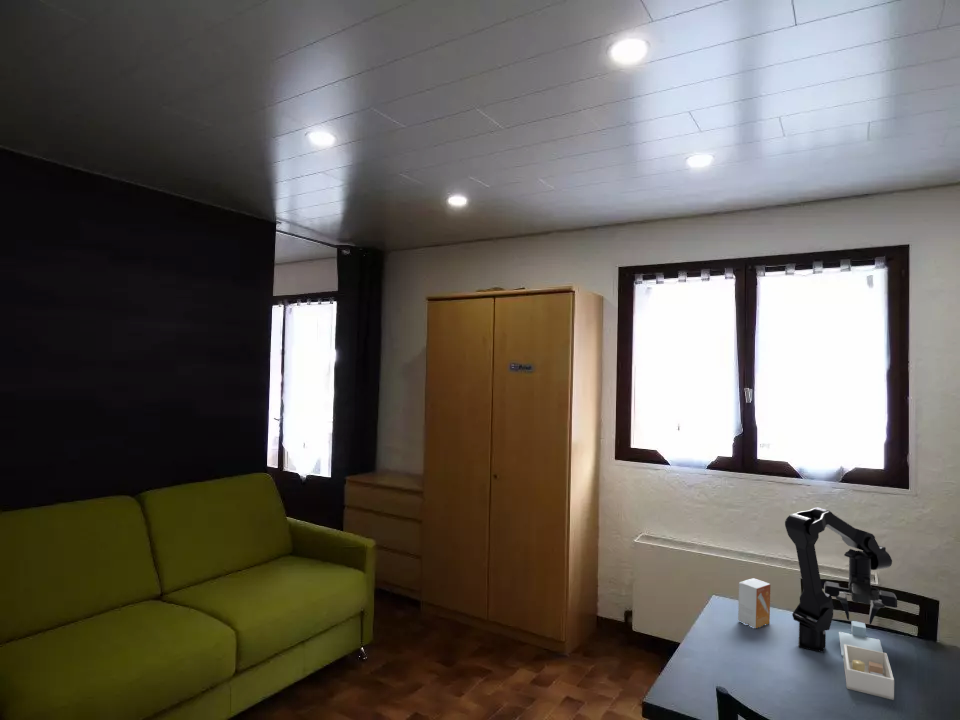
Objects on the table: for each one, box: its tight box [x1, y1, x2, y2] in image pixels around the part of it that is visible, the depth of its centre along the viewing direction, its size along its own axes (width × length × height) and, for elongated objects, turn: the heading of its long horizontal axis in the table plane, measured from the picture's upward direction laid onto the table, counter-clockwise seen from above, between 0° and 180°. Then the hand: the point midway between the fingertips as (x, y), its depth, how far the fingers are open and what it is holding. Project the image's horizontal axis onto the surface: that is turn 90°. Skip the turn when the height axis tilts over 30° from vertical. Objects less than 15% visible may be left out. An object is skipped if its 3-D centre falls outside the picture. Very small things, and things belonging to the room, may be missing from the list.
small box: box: [737, 577, 771, 629], centre depth 190 cm, size 8×6×13 cm
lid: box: [838, 620, 884, 658], centre depth 175 cm, size 11×20×4 cm, turn 151°
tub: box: [843, 644, 895, 701], centre depth 157 cm, size 10×16×5 cm, turn 151°
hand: (858, 621), depth 182 cm, fingers open, 5 cm apart
